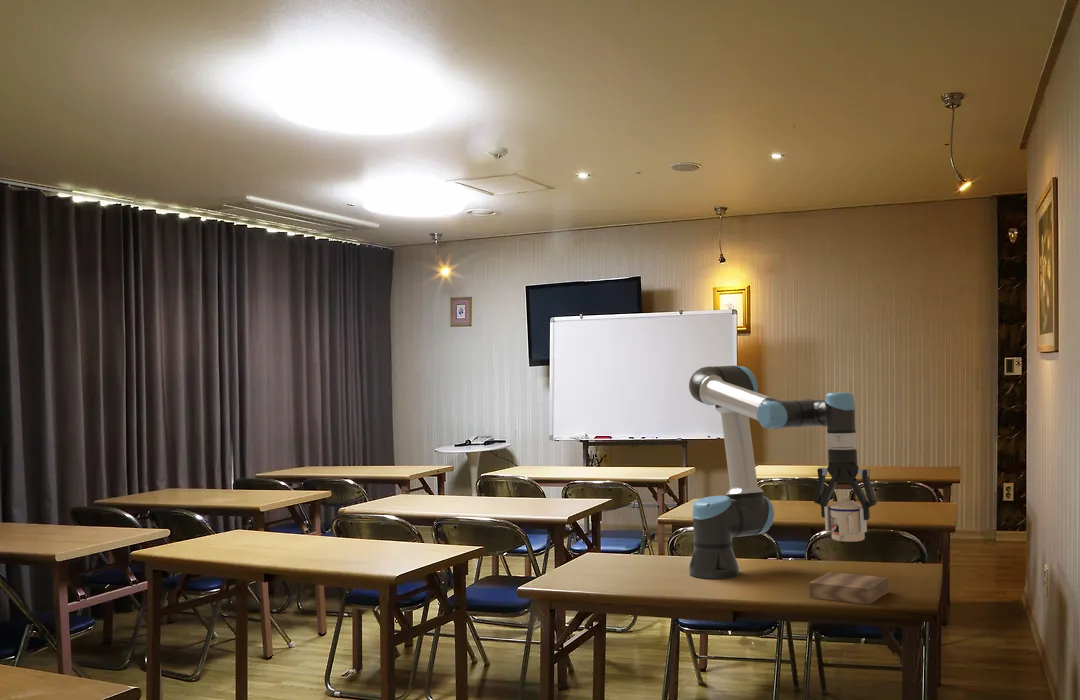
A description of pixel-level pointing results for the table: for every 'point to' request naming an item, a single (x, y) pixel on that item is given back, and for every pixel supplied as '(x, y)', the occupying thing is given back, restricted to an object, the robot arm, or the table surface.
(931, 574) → the table surface
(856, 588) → the wooden square block
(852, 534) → the teacup with lid
